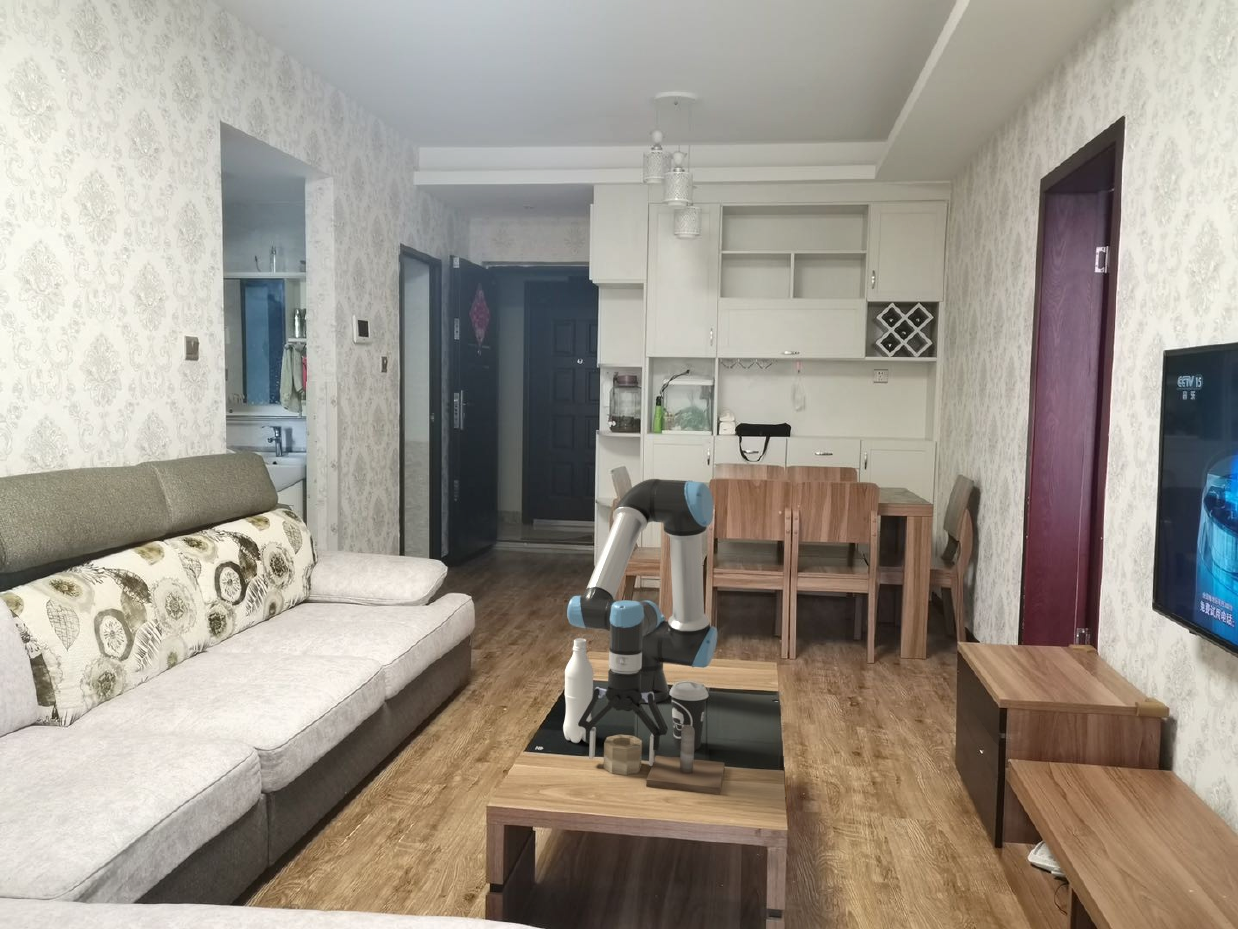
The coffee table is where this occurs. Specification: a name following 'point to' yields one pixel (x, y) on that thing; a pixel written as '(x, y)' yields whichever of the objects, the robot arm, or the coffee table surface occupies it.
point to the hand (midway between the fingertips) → (621, 761)
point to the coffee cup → (688, 709)
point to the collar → (622, 754)
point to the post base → (686, 781)
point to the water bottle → (577, 691)
